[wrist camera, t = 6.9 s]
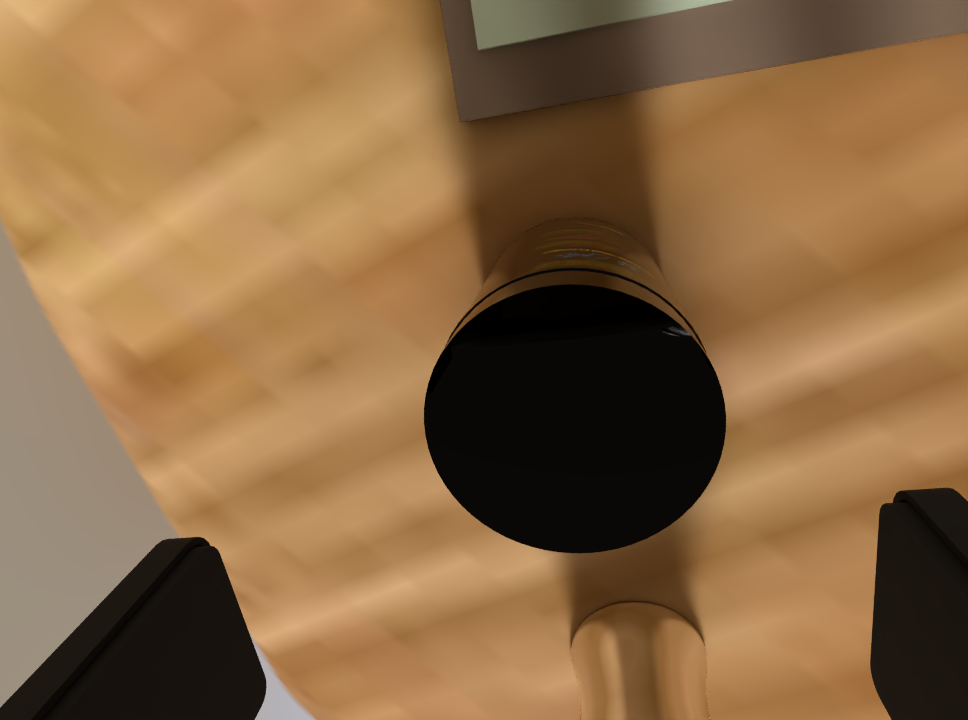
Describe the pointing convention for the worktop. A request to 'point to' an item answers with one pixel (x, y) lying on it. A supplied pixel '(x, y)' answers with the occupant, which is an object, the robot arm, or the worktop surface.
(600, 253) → the supplement container
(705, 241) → the worktop surface
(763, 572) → the worktop surface
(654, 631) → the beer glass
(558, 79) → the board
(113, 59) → the worktop surface
